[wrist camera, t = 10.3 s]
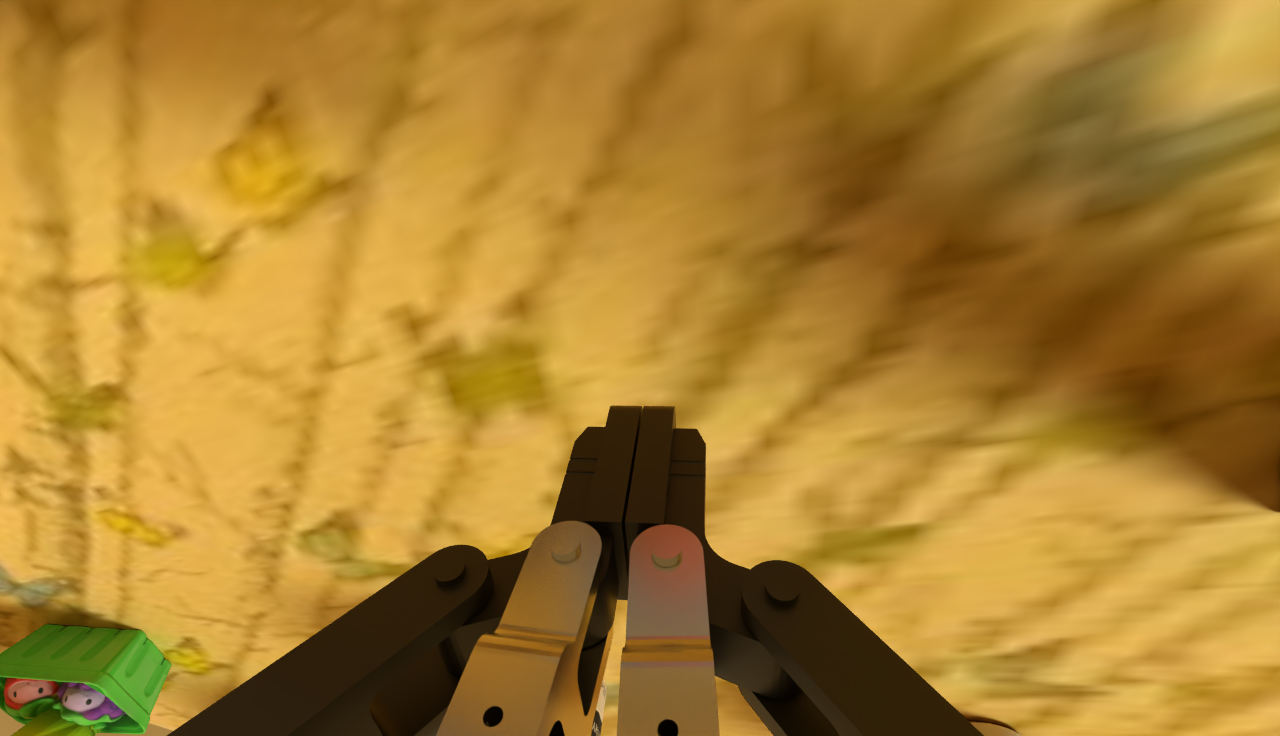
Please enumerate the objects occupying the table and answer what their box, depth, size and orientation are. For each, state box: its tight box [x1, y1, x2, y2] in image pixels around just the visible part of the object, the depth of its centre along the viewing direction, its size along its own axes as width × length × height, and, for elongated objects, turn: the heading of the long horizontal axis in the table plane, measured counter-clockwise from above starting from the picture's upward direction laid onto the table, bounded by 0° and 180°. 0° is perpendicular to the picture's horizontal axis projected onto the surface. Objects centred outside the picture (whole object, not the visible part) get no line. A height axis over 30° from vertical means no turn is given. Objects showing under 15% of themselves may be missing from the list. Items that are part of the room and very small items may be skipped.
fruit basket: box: [0, 624, 171, 736], centre depth 46 cm, size 11×9×11 cm
